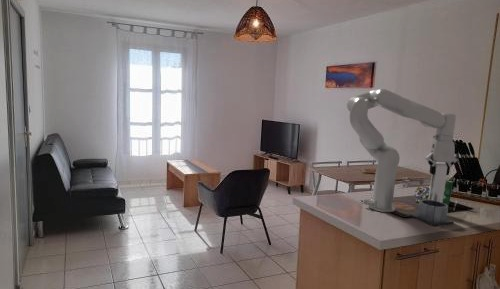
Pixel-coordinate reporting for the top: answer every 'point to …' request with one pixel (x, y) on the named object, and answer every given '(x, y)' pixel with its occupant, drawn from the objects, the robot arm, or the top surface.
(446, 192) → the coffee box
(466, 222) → the top surface
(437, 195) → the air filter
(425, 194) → the passion flower
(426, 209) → the collar
